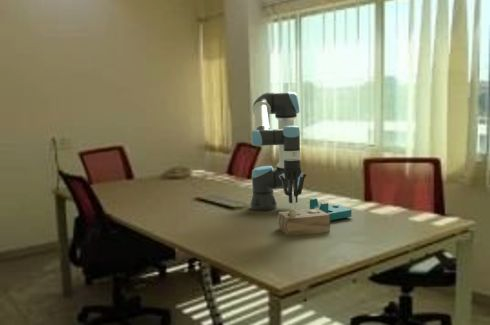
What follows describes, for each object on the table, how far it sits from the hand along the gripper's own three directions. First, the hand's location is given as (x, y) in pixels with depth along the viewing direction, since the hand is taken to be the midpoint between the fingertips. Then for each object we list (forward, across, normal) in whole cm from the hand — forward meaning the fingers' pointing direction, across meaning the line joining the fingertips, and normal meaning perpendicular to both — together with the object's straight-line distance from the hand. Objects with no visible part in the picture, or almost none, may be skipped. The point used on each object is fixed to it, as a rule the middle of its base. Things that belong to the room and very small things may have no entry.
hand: (293, 209), depth 246 cm
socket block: (+10, +5, 0) cm, 11 cm away
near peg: (+8, 0, 0) cm, 8 cm away
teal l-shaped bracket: (+11, +25, +15) cm, 31 cm away
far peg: (+10, +10, 0) cm, 14 cm away
